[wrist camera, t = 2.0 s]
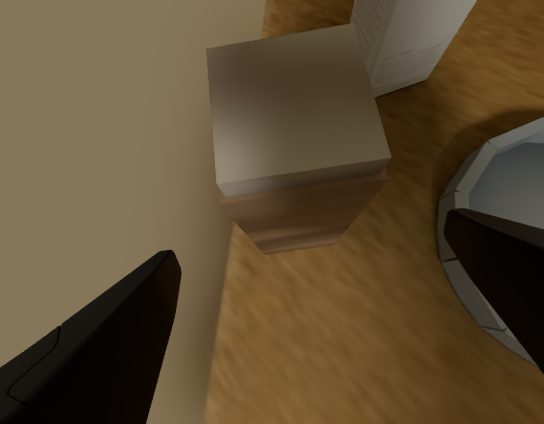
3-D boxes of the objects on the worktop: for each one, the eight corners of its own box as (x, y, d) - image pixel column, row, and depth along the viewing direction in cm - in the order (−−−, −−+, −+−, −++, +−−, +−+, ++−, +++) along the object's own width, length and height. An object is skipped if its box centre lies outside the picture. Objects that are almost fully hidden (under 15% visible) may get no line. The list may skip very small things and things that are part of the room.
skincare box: (403, 44, 24) (507, -193, 12) (428, 84, 22) (572, -139, 11) (336, 67, 24) (377, -149, 12) (358, 108, 22) (427, -89, 11)
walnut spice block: (333, 244, 19) (401, 163, 7) (264, 254, 20) (209, 192, 7) (321, 180, 21) (358, 16, 8) (256, 190, 21) (199, 45, 9)
